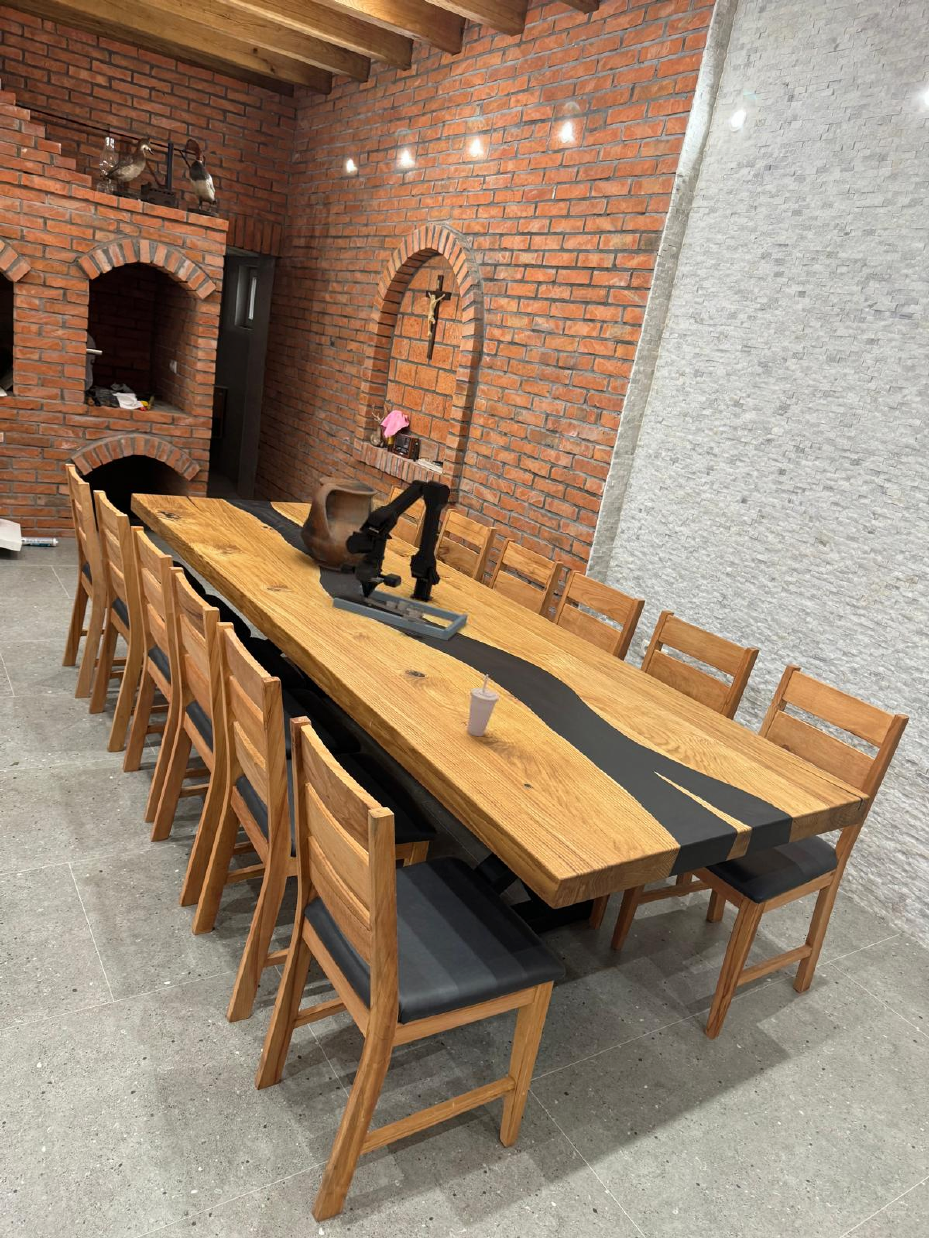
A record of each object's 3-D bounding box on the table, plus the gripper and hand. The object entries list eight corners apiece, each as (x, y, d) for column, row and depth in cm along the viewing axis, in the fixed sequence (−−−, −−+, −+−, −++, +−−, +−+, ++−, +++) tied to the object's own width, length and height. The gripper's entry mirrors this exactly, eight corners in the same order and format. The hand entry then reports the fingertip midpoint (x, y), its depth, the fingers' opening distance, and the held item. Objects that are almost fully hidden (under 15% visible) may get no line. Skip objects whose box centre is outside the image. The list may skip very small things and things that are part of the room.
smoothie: (473, 723, 189) (486, 668, 185) (495, 735, 185) (509, 679, 181) (456, 729, 184) (469, 672, 180) (477, 741, 180) (491, 683, 176)
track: (359, 592, 268) (361, 583, 267) (465, 623, 260) (467, 615, 259) (332, 606, 248) (334, 597, 247) (446, 640, 241) (448, 631, 240)
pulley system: (391, 611, 263) (356, 601, 252) (396, 597, 263) (361, 586, 252) (447, 635, 244) (411, 625, 233) (452, 620, 244) (417, 609, 233)
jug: (360, 583, 278) (375, 497, 269) (282, 563, 280) (295, 477, 272) (383, 564, 309) (398, 486, 300) (313, 546, 311) (326, 469, 303)
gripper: (336, 548, 246) (328, 597, 251) (393, 565, 242) (383, 614, 247) (351, 543, 256) (343, 590, 261) (406, 559, 253) (396, 606, 257)
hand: (366, 600), depth 256 cm, fingers closed
